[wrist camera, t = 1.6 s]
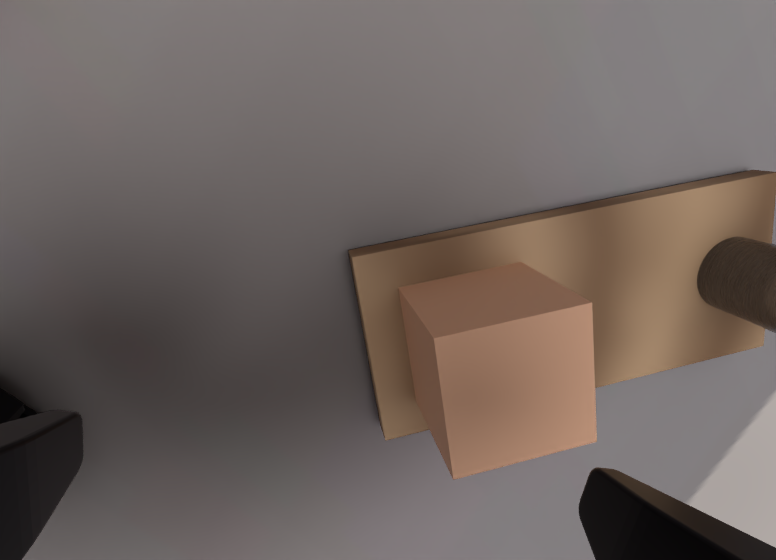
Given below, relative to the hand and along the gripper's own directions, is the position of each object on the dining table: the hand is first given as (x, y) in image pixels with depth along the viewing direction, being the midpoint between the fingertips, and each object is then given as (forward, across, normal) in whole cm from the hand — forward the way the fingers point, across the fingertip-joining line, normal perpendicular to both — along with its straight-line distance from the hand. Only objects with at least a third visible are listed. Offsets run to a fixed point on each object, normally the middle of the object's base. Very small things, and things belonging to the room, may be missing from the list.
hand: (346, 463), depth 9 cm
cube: (+11, +5, -2) cm, 12 cm away
